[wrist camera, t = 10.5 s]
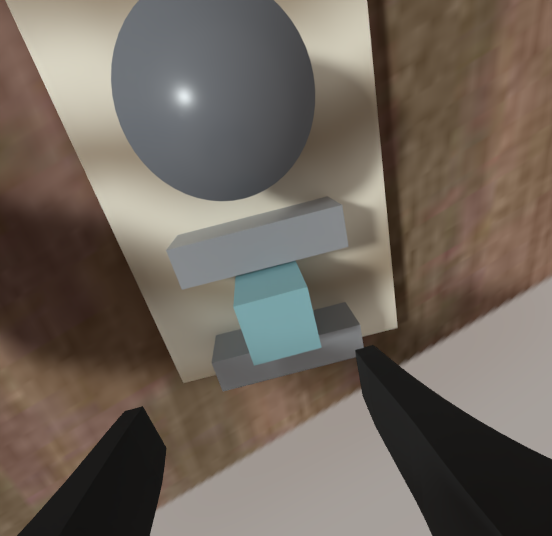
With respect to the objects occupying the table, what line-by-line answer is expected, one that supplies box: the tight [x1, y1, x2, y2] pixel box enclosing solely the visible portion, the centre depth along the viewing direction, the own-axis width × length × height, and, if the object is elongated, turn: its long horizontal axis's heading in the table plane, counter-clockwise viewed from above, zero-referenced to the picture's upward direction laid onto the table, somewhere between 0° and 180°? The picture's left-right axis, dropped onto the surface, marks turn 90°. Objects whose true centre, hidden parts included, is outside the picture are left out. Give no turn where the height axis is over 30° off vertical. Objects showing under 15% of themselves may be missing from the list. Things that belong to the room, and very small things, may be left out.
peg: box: [233, 260, 322, 366], centre depth 15 cm, size 3×3×5 cm
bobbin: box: [111, 0, 315, 201], centre depth 12 cm, size 6×6×4 cm
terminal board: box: [6, 0, 398, 383], centre depth 15 cm, size 26×14×2 cm, turn 13°
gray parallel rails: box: [166, 196, 364, 391], centre depth 16 cm, size 8×8×2 cm
